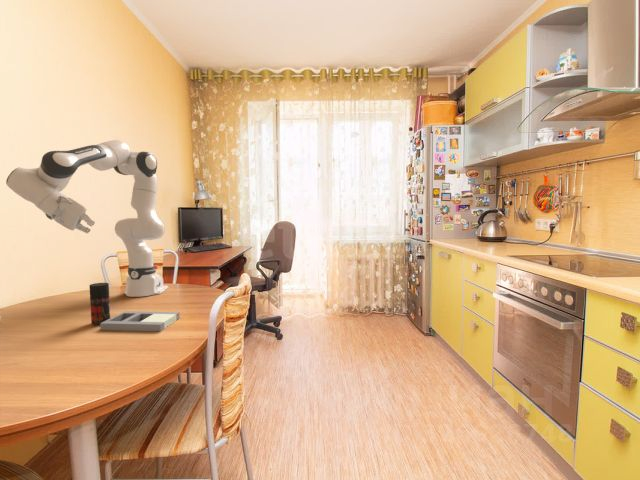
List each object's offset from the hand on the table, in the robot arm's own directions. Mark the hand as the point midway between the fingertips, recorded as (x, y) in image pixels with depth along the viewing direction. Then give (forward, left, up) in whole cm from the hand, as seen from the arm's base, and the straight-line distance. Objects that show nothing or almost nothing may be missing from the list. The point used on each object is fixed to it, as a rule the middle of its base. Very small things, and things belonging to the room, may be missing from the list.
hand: (91, 228), depth 124 cm
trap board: (+7, +23, -36) cm, 43 cm away
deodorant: (+7, +7, -36) cm, 37 cm away
